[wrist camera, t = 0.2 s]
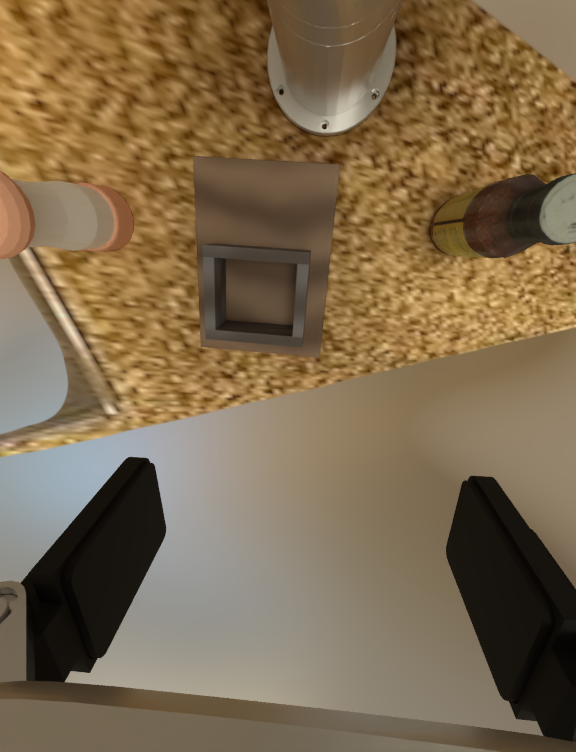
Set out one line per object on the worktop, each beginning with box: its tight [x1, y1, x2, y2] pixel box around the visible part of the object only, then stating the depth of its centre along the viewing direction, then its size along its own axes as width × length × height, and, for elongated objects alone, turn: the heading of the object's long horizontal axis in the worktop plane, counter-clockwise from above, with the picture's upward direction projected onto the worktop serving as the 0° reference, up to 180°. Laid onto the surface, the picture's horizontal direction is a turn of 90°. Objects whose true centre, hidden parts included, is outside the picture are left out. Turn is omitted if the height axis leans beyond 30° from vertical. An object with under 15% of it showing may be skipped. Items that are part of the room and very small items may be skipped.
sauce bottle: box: [430, 173, 576, 258], centre depth 30 cm, size 7×6×20 cm
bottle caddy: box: [194, 156, 340, 357], centre depth 40 cm, size 22×16×6 cm
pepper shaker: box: [0, 171, 133, 259], centre depth 34 cm, size 7×7×19 cm
